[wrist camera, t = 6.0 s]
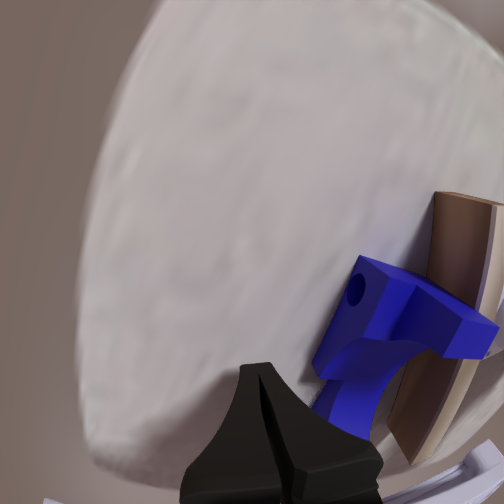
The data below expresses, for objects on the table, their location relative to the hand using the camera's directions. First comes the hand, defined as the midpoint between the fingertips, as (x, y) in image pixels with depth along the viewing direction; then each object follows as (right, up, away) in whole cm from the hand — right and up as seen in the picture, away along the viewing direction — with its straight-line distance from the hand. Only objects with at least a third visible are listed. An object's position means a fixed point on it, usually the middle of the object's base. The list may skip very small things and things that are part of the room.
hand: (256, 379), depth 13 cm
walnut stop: (+10, +1, +2) cm, 10 cm away
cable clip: (+5, 0, +3) cm, 6 cm away
